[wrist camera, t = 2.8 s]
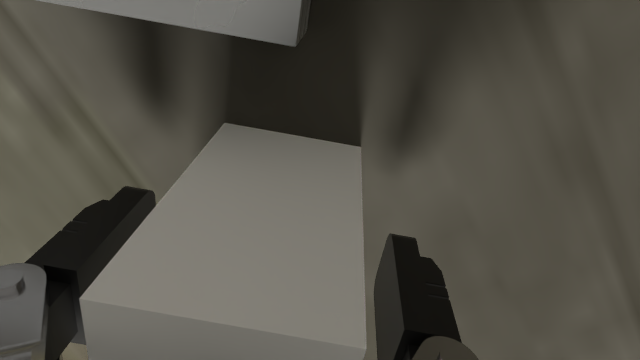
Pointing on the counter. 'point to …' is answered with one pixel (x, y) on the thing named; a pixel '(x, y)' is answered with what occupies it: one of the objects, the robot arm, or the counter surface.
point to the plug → (241, 259)
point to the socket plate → (215, 15)
